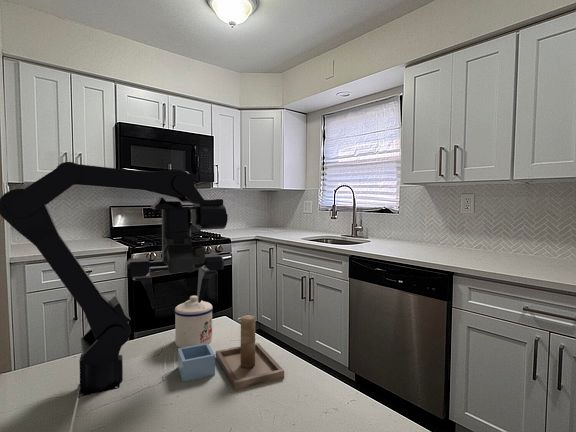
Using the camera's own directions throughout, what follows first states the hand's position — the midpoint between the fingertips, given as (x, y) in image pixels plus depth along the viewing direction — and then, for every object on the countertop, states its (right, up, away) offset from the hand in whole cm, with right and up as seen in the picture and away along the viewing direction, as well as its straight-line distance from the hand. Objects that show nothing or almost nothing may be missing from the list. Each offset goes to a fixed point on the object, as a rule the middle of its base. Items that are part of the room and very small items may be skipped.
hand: (176, 305), depth 69 cm
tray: (+15, -13, -1) cm, 20 cm away
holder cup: (+5, -13, -3) cm, 14 cm away
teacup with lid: (0, -13, +13) cm, 18 cm away
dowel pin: (+15, -12, -1) cm, 19 cm away
